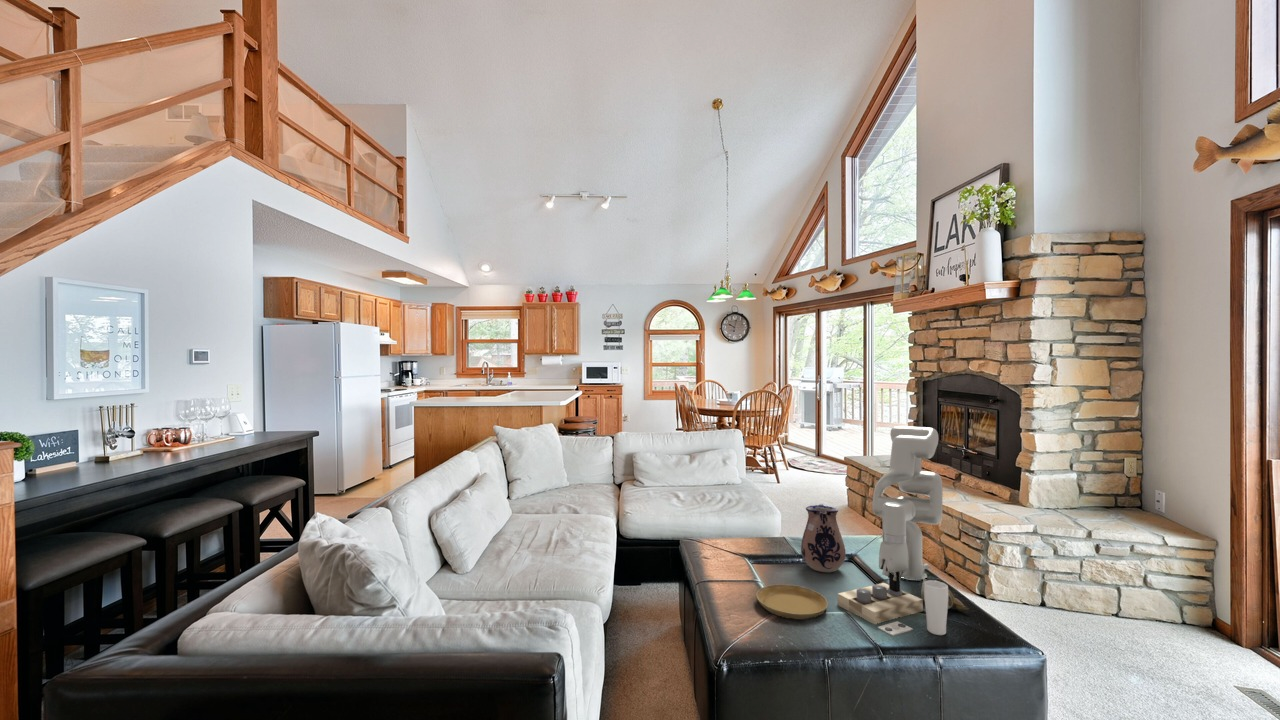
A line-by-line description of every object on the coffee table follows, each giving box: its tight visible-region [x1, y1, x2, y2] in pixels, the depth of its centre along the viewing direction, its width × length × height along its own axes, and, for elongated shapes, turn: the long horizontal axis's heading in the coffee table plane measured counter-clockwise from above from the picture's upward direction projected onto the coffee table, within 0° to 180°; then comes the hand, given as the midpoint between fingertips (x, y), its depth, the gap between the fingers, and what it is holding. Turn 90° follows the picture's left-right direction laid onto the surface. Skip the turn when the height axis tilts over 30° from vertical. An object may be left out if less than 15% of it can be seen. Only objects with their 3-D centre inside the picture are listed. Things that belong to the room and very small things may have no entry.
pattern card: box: [877, 620, 914, 637], centre depth 172 cm, size 9×6×1 cm, turn 115°
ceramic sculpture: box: [920, 579, 970, 611], centre depth 187 cm, size 11×9×15 cm
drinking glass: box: [924, 579, 949, 636], centre depth 170 cm, size 7×7×15 cm
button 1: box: [856, 588, 871, 605], centre depth 184 cm, size 5×5×5 cm
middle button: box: [871, 584, 887, 601], centre depth 187 cm, size 5×5×5 cm
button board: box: [837, 582, 924, 625], centre depth 187 cm, size 23×16×4 cm
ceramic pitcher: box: [800, 503, 847, 573], centre depth 226 cm, size 18×21×25 cm
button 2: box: [888, 588, 903, 597], centre depth 190 cm, size 5×5×5 cm
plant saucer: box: [755, 583, 829, 620], centre depth 188 cm, size 24×24×3 cm
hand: (894, 590), depth 190 cm, fingers closed
